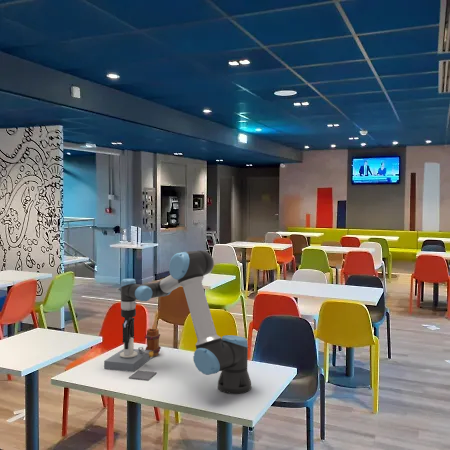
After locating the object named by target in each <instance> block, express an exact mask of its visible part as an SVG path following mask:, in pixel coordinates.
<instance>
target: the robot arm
mask: <svg viewBox="0 0 450 450" xmlns="http://www.w3.org/2000/svg"><path fill="white" fill-rule="evenodd" d="M168 264H169V265H168V272H169V274H170V275H168V276H166V277H165V278H162V279H161V280H159V281H157V282H151V283H145V284H137V281H136V279H135V278H123V279H121V281H120V283H121V284H120V316H121V317H122V318H124V320H123V323H122V324H121V325H122V341H121V342H122V344H123V349H124V355H130V342H129V335H130V337H132V338H134V339H135V317H137V309H136V306H137V304H138V303H137V301H140V302H148V301H149V300H151V299H155V298H160V297H161V298H162V297H167V296H169V295H171V293H172V291H174V290H176V289H178V288H180V287H182V288H183V292H184V294H185V298H186V299H185V300H186V302H187V307H188V309H189V310H188V311H189V313H190V317H191V321H192V324H193V328H194V332H195V335H196V338H197V340H196V341H197V342H196V343H195V351H194V352H193V362H194V366H195V368H196V369H197V371H199V372H201V373H202V375H208V376H210V375H214V374H217V373H219V372H220V375H219V377H218V381H217V389H218V390H219V391H220V392H223V393H226V394H231V395H232V394H236V395H237V394H243V393H247V392H249V391H250V390H251V389H252V380H251V377H250V374H249V371H248V355H249V353H248V352H249V351H248V349H249V347H248V340H247V339H246V338H245V337H244V336H239V335H232V334H231V335H228V334H227V335H226V334H225V335H223V336H220V335H218V334H217V330H216V327H215V324H214V320H213V317H212V313H211V310H210V306H209V303H208V300H207V296H206V293H205V289H204V285H203V280H204V278H205V277H204V276H206V275H209V274H210V273H211V272H212V271H213V269H214V265H215V263H214V258H213V257H212V254H210V253H209V252H208V251H206V250H192V251H182V252H177V253H175V254H174V255H172V256H171V259H170V261H169V263H168Z"/></svg>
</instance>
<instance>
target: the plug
mask: <svg viewBox="0 0 450 450" xmlns="http://www.w3.org/2000/svg"><path fill="white" fill-rule="evenodd" d="M134 339H135V338H132V337H130V335H129V342H130V355H124V352H121V353H120V357H123V358H132V357H135V356H137V355H138V353H137V352H135V351H134V349H135V348H134V346H135V345H134V344H135V343H134Z"/></svg>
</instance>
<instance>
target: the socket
mask: <svg viewBox="0 0 450 450" xmlns="http://www.w3.org/2000/svg"><path fill="white" fill-rule="evenodd" d="M144 350H145V349H144ZM134 351H135V352H137V353H138V355H137V356H135V357H132V358H123V357H120V353H121V352H124V348H122V349H121V350H119V351H117V352H116V353H115V354H113V355H111V356H109V357H108V358H106V359H105V360H104V362H103V364H104V365H103V368H104V369H105V370H112V371H114V370H115V371H123V372H131V373H132V372H134V373H135V372H136V371H137V370H138V369H139V368H141V367H142V366H143V365H145V364H146V363H147V362H149V361H150V360H151V359H150V358H149V357H148V356H147V355H145V354H144V353H143V352H142V351H138V349H137V348H134ZM145 351H146V352H147V353H149V351H150V350H145Z"/></svg>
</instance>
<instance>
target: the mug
mask: <svg viewBox="0 0 450 450" xmlns="http://www.w3.org/2000/svg"><path fill="white" fill-rule="evenodd" d="M160 337H161V334H160V333H159V329H158V325H157V324H153V325H152V326H151V328H148V329H146V335H145V337H144V338H145V339H146V347H145V349H144V350H150V351H153V357H156V356H158V355H159V353H160V351H161V349H162V347H161V346H160V345H159V343H160Z"/></svg>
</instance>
